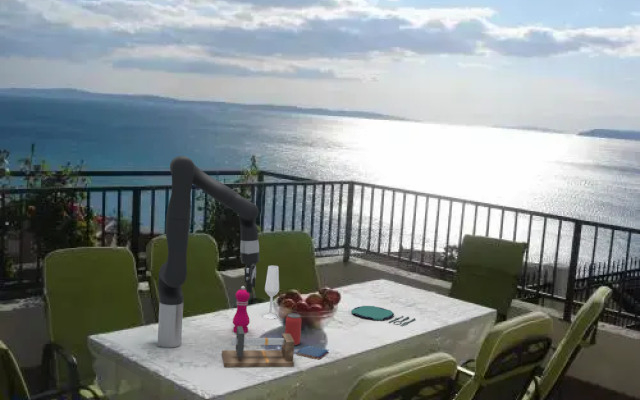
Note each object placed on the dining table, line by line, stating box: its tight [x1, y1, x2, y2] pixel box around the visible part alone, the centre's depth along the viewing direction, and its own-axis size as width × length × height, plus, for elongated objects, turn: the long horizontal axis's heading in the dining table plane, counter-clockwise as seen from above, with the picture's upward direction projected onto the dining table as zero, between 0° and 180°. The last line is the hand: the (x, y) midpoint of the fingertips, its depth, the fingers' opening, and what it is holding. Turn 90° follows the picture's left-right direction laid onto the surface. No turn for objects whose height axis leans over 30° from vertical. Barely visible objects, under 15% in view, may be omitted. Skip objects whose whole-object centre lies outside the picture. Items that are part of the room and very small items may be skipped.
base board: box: [221, 333, 295, 368], centre depth 261 cm, size 26×14×9 cm, turn 102°
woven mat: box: [295, 345, 330, 361], centre depth 274 cm, size 10×11×2 cm
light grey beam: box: [231, 337, 285, 346], centre depth 261 cm, size 20×2×2 cm, turn 102°
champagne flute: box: [262, 265, 280, 320], centre depth 320 cm, size 7×7×24 cm
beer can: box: [284, 312, 303, 346], centre depth 284 cm, size 7×7×12 cm
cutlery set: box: [350, 305, 416, 327], centre depth 334 cm, size 20×30×2 cm, turn 56°
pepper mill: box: [232, 285, 251, 334], centre depth 295 cm, size 7×7×20 cm
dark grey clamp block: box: [235, 326, 246, 357], centre depth 260 cm, size 2×9×9 cm, turn 12°
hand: (251, 289), depth 280 cm, fingers open, 8 cm apart
